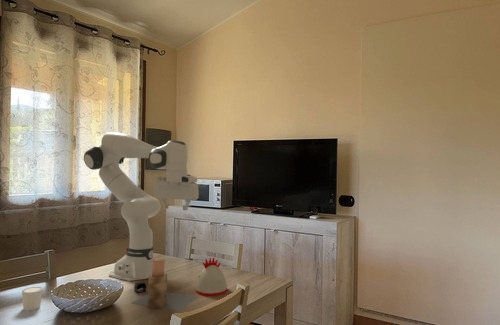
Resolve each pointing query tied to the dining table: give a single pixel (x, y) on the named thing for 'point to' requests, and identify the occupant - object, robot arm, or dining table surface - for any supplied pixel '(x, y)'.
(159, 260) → the drum
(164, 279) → the block upper
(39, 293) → the white cylinder
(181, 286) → the dining table surface
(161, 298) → the block lower
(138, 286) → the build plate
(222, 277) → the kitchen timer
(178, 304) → the mat
